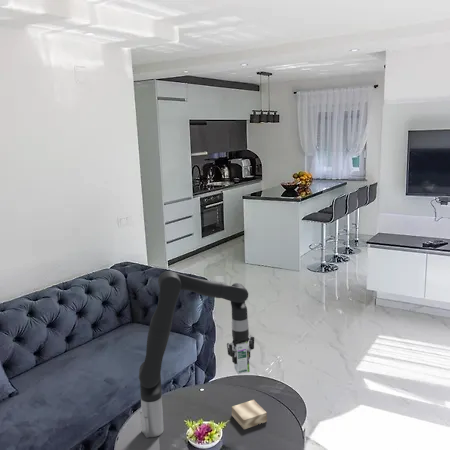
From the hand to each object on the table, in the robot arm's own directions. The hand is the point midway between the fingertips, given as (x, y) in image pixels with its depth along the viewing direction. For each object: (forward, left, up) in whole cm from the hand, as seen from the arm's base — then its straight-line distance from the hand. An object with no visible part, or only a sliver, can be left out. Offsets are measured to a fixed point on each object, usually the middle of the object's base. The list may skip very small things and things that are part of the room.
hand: (241, 360), depth 211 cm
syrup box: (0, 0, -5) cm, 5 cm away
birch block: (+2, -3, -29) cm, 29 cm away
